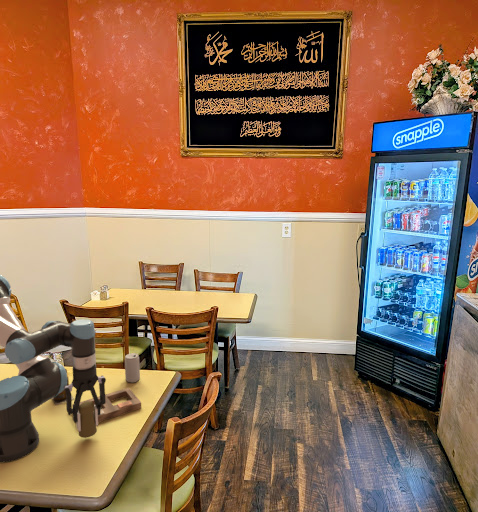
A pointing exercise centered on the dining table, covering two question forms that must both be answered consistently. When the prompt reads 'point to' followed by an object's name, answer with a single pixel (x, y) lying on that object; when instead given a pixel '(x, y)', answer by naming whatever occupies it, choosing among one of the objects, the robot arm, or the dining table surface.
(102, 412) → the caddy
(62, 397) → the condiment
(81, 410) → the cork
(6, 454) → the robot arm
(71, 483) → the dining table surface
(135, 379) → the beverage can
